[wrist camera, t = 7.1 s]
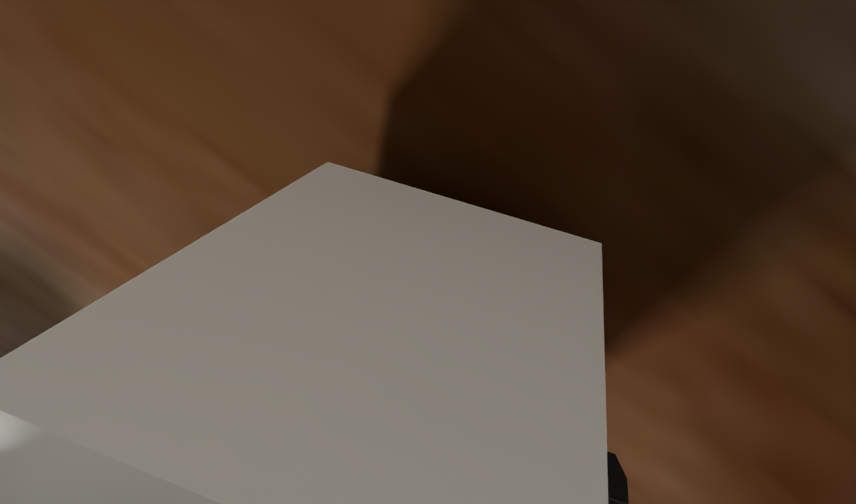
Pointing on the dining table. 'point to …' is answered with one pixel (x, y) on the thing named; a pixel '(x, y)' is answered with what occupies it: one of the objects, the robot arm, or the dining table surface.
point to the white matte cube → (325, 364)
